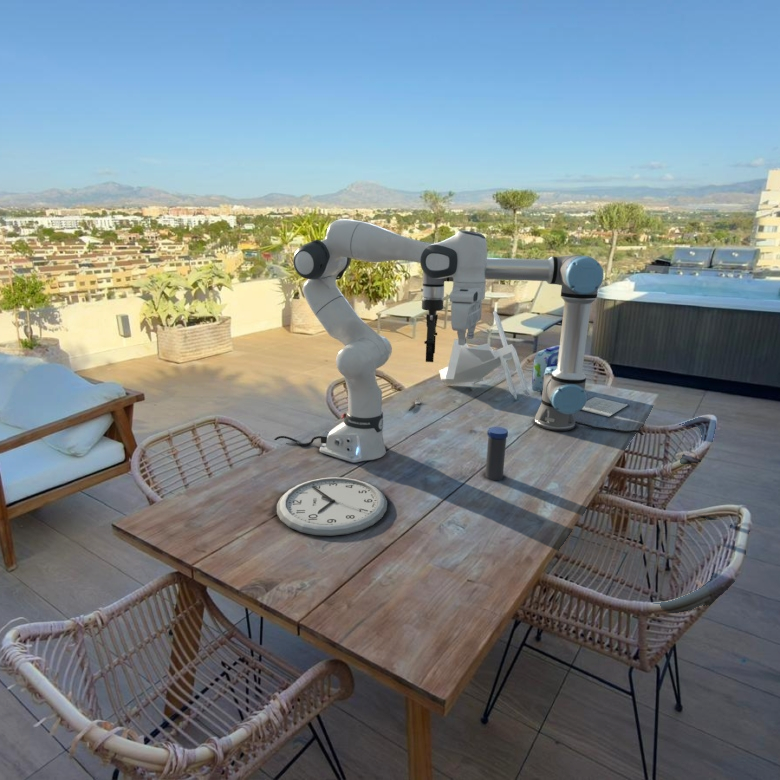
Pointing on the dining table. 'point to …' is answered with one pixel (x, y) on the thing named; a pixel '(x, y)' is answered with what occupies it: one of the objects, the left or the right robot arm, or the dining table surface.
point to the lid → (497, 432)
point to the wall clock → (331, 506)
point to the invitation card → (603, 406)
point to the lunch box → (543, 366)
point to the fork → (415, 403)
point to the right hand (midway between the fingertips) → (430, 357)
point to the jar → (495, 458)
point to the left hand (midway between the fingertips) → (466, 341)
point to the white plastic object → (482, 362)
